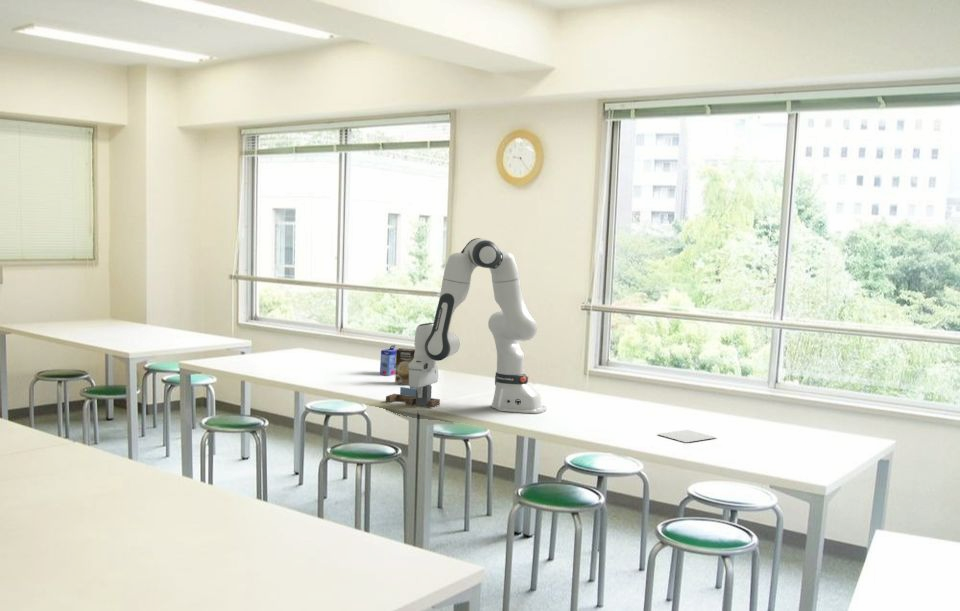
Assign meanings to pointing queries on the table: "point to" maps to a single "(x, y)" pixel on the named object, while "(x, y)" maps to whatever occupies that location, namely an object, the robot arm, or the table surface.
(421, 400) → the plug
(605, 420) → the table surface
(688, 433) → the paper stack
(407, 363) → the coffee box
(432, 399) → the brown frame
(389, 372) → the ink cartridge box
